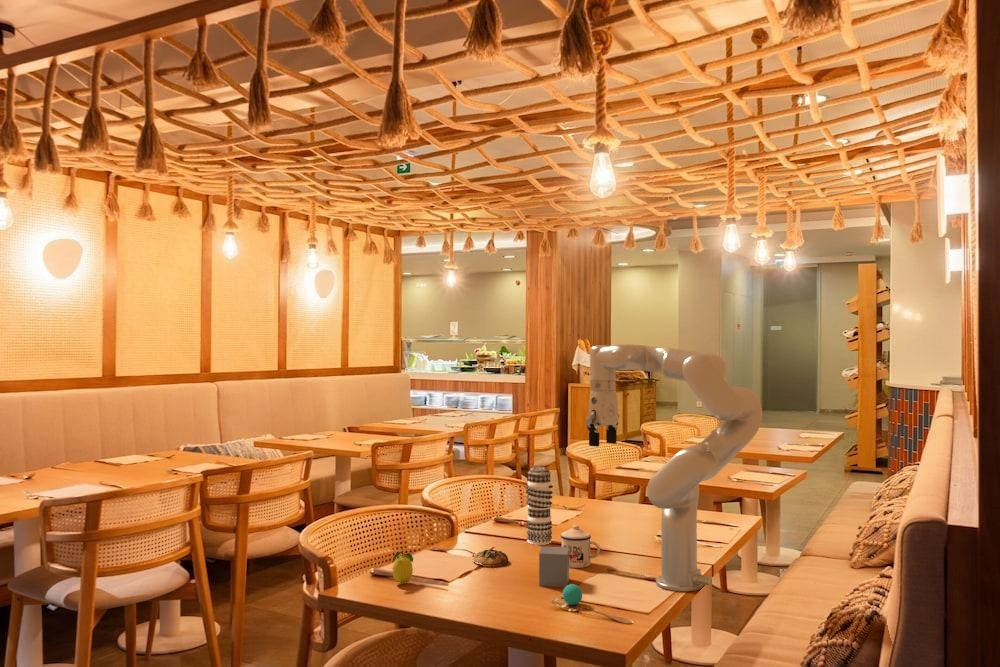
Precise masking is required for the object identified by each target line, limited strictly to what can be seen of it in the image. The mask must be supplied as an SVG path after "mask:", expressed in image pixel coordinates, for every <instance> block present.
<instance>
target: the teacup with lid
mask: <svg viewBox="0 0 1000 667" xmlns="http://www.w3.org/2000/svg"><path fill="white" fill-rule="evenodd" d="M560 538H561V547H569V569H570V568H571V569H582V568H588V567H589V566H591V559H595V558H597V557H598V556H599V554H600V552H601V547H600V544H599V543H597V542H596V541H591V538H592V536H591V533H589V532H588V531H585V530H583V529H582V528H580V526H579V525H578V524H573V525H572V528H569V529H568V530H566V531H563V532H561V535H560ZM591 545H594V546H595V547H596V553H595V555H591Z"/></svg>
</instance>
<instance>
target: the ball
mask: <svg viewBox="0 0 1000 667" xmlns="http://www.w3.org/2000/svg"><path fill="white" fill-rule="evenodd" d="M562 597H563V598H562V599H563V601H564V602H565V603H566V604H567V605H569V604H570V606H575V605H578V604H579V603H580V602H581V601H582V599H583V591H582V589H581V588H580V586H578V585H577V584H574V583H570V584H568V585H567V586H566V587H563V591H562Z"/></svg>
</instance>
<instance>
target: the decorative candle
mask: <svg viewBox="0 0 1000 667" xmlns="http://www.w3.org/2000/svg"><path fill="white" fill-rule="evenodd" d="M551 474H552V472H551V471H550V470H549V468H548V467H546V466H545V467H544V466H534V467H533V466H532V467H531V468H530V469H529V471H527V475H528V476H527V478H528V480H527V484H526V485H525V489H526V491H525V493H526V494H527V495H526V504H527V505H526V508H527V509H528V510H527V511H528V512H527V520H526V521H527V522H526V524H527V526H526V528H527V530H526V534H527V535H526V538H527V540H526V543H527V542H528V543H527V544H529V543H530V544H529V545H533V544H534V545H533V546H546V544H548V545H550V544H549V543H551V542H552V543H553V541H552V539H553V535H552V534H553V531H552V530H551V529H552V527H553V526H552V523H553V522H552V516H551V509H552V508H553V506H552V505H553V502H552V501H551V499H553V496H552V494H553V491H552V490H551V489H552V488H553V487H554V486H553V485H552V481H551ZM552 543H551V544H552Z"/></svg>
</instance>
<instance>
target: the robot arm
mask: <svg viewBox="0 0 1000 667" xmlns="http://www.w3.org/2000/svg"><path fill="white" fill-rule="evenodd" d="M727 369H728V368H727V364H726V362H725V360H724V359H723V358H722V357H721V356H720V355H717V354H715V353H709V352H701V351H694V350H686V349H677V348H671V347H668V348H663V347H659V346H657V347H656V346H650V345H649V346H648V345H641V344H633V343H632V344H629V343H628V344H624V343H622V344H621V343H620V344H613V345H605V344H602V345H600V344H599V345H597V344H596V345H592V346H591V347H590V350H589V392H590V393H589V399H588V400H589V401H588V415H587V416H586V417H585V424H586V429H587V432H588V445H589V447H598V448H599V447H600V432H599V430H600V428H601V427H602V426H603V427H607V429H606V430H605V431H606V437H605V439H606V440H605V442H606V444H613V445H615V444H617V441H618V440H617V436H618V435H617V430H618V425H619V419H620V414H619V403H618V395H617V391H616V389H617V388H616V380H617V379H616V377H617V376H616V375H617V373H616V372H617V371H642V372H643V371H644V372H650V373H655V374H656V373H657V374H660V375H662V376H663V377H664V378H665V379H668V380H675V381H681V382H686V383H687V385H688V387H689V388H690V389H691V390H692V392H693V393H694V394H695V395H696V397H697V398H698V399H699V400H700V402H701V403H702V405H703V406H704V407H705V408H706V409H707V411H708V412H709V413H710V414H711V415H712V416H714V418H716V419H717V420H720V421H723V422H721V424H720V425H718V426H717V427H716V428H715V429H713V430H712V431H711V432H710V434H709V435H708V436H706V437H705V438H704V439H703V440H702V441H701V442H699V443H697V444H695V445H691V446H687V447H684V448H682V449H680V450H679V451H677V452H676V453H675V454H674V455H673V456H672V457H671V458H670V459H669V460H668V461H667V462H665V463H664V464H663V466H661V468H660V469H658V470H657V471H656V472H655V473H654V475H653V476H651V478H650V479H649V481H648V483H647V487H646V494H647V495H646V496H647V498H648V500H649V502H650V503H651V504H652V505H654V506H655V507H656V508H659V509H662V510H661V517H660V518H661V519H660V520H661V521H660V522H661V523H660V525H661V526H660V530H661V532H660V533H661V534H660V536H661V537H660V538H661V540H660V542H661V543H660V546H661V554H660V555H661V557H660V558H661V559H660V561H661V562H660V563H661V575H659V576H657V577H656V578H655V584H656V585H657V586H658V587H659V586H660V588H662V589H665V590H668V591H674V592H694V591H699V590H700V589H702V588H703V587H704V585H706V586H710V585H711V582H712V581H711V580H712V579H711V576H710V575H705V574H704V575H703V574H702V572H701V568H698V551H697V550H698V538H697V537H698V535H697V534H698V533H697V532H698V528H697V527H698V524H697V523H698V518H697V517H698V504H699V498H700V484H701V483H703V482H706V481H708V480H711V479H713V478H714V477H716V476H717V475H718V474H719V473H720V471H722V470H723V469H724V467H726V466H727V465H728V464H729V463H730V462H731V461H732V460H733V459H734V458H735V457H736V456H737V455H738V454H739V453H740V452H741V451H742V450H743V449H745V447H746V446H747V445H748V444H749V443H750V442H751V441H752V440H753V439H754V438H755V436H756V434H757V433H758V431H759V430H760V427H761V425H762V420H763V409H762V404H761V401H760V398H759V397H758V396H757V394H756V392H754V391H753V390H751V389H750V388H747V387H743V386H730V385H729V383H728V382H727V381H726V380H725V376H726V375H727ZM616 370H617V371H616Z"/></svg>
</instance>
